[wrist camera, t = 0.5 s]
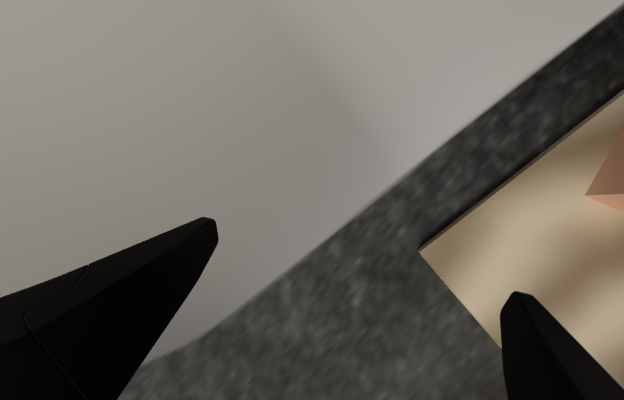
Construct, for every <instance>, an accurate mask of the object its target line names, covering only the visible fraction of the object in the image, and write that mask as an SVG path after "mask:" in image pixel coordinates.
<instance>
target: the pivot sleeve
mask: <svg viewBox="0 0 624 400" xmlns="http://www.w3.org/2000/svg"><path fill="white" fill-rule="evenodd" d="M585 196H587V197H589V198H591V199H594V200H596V201H598V202H600V203H603V204H605V205H607V206H609V207H612V208H614V209H616V210H618V211H621V212H623V213H624V127H623V129H622V131H621V133H620V134H619V136H618V138H617V140H616V141H615V143H614V145H613V147H612V148H611V150H610V152H609V154H608V155H607V157H606V159H605V161H604V162H603V164H602V166H601V168H600V169H599V171H598V173H597V175H596V176H595V178H594V180H593V182H592V183H591V185H590V187H589V189H588V190H587V192H586V194H585Z"/></svg>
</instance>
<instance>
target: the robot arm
mask: <svg viewBox="0 0 624 400" xmlns="http://www.w3.org/2000/svg"><path fill="white" fill-rule="evenodd" d="M217 244H218V232H217V226H216V222H215V220H213V219H211V218H206V217H201V218H199V219H196V220H194V221H191V222H189V223H187V224H184V225H182V226H179V227H177V228H174V229H172V230H170V231H167V232H165V233H162V234H160V235H158V236H155V237H153V238H150V239H148V240H146V241H143V242H141V243H138V244H136V245H134V246H131V247H129V248H126V249H124V250H122V251H119V252H117V253H115V254H112V255H109V256H107V257H105V258H102V259H100V260H97V261H95V262H93V263H90V264H89V265H85V266H83V267H80V268H78V269H76V270H73V271H71V272H68V273H66V274H63V275H61V276H58V277H56V278H53V279H51V280H48V281H45V282H43V283H40V284H37V285H34V286H32V287H29V288H26V289H23V290H20V291H18V292H15V293H12V294H9V295H6V296H4V297H1V298H0V400H117V399H118V397H119V396H120V394H121V393H122V391H123V390H124V388H125V387H126V386H127V384H128V383H129V381H130V380H131V378H132V377H133V375H134V374H135V372H136V371H137V369H138V368H139V366H140V365H141V364H142V362H143V361H144V359H145V358H146V356H147V355H148V353H149V352H150V350H151V349H152V347H153V346H154V345H155V343H156V342H157V340H158V338H159V337H160V336H161V334H162V333H163V331H164V330H165V328H166V327H167V325H168V324H169V322H170V321H171V319H172V318H173V317H174V315H175V314H176V312H177V311H178V309H179V308H180V306H181V305H182V304H183V302H184V301H185V299H186V298H187V296H188V295H189V293H190V292H191V290H192V289H193V287H194V286H195V284H196V282H197V281H198V279H199V278H200V276H201V274H202V272H203V270H204V268H205V266H206V265H207V263H208V261H209V259H210V257H211V255H212V253H213V251H214V250H215V248H216V246H217ZM500 329H501V344H502V359H503V371H504V378H505V384H506V389H507V395H508V400H624V389H623V388H622V387H621V386H620V384H619V383H618V382H617V381H616V380H615V379H614V378H613V377H612V376H611V375H610V374H609V373H608V372H607V371H606V370H605V369H604V368H603V367H602V366H601V365H600V364H599V363H598V362H597V361H596V360H595V359H594V358H593V357H592V356H591V355H590V354H589V353H588V352H587V350H586V349H585V348H584V347H583V346H582V345H581V344H580V343H579V342H578V341H577V340H576V339H575V338H574V337H573V336H572V335H571V334H570V333H569V332H568V331H567V330H566V329H565V328H564V327H563V326H562V325H561V324H560V323H559V322H558V321H557V320H556V319H555V317H554V316H553V315H552V314H551V313H550V312H549V311H548V310H547V309H546V308H545V307H544V306H543V305H542V304H541V303H540V302H539V301H538V300H537V299H536V298H535V297H534V296H533V295H531V294H528V293H524V292H519V291H514V292H512V293H511V295H510V296H509V298H508V299H507V301H506V303H505V304H504V306H503V307H502V309H501V312H500Z"/></svg>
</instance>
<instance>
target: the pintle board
mask: <svg viewBox="0 0 624 400" xmlns="http://www.w3.org/2000/svg"><path fill="white" fill-rule="evenodd" d="M623 127H624V89H623V90H622V91H621V92H619V93H618V94H617V95H616V96H614V97H613V98H612V99H610V100H609V101H608V102H607V103H605V104H604V105H603V106H601V107H600V108H599V109H598V110H596V111H595V112H594V113H592V114H591V115H590V116H589V117H587V118H586V119H585V120H583V121H582V122H581V123H580V124H578V125H577V126H576V127H574V128H573V129H572V130H571V131H569V132H568V133H567V134H565V135H564V136H563V137H562V138H560V139H559V140H558V141H556V142H555V143H554V144H553V145H551V146H550V147H549V148H547V149H546V150H545V151H544V152H542V153H541V154H540V155H538V156H537V157H536V158H535V159H533V160H532V161H531V162H529V163H528V164H527V165H526V166H524V167H523V168H522V169H520V170H519V171H518V172H517V173H515V174H514V175H513V176H511V177H510V178H509V179H508V180H506V181H505V182H504V183H502V184H501V185H500V186H499V187H497V188H496V189H495V190H493V191H492V192H491V193H490V194H488V195H487V196H486V197H484V198H483V199H482V200H481V201H479V202H478V203H477V204H475V205H474V206H473V207H472V208H470V209H469V210H468V211H466V212H465V213H464V214H463V215H461V216H460V217H459V218H457V219H456V220H455V221H454V222H452V223H451V224H450V225H448V226H447V227H446V228H444V229H443V230H442V231H441V232H439V233H438V234H437V235H435V236H434V237H433V238H432V239H430V240H429V241H428V242H426V243H425V244H424V245H423V246H421V247H420V248H419V249H417V251H418V252H419V253H420V254H421V256H422V257H423V258H424V259H425V260H426V262H427V263H428V264H429V265H430V266H431V267H432V269H433V270H434V271H435V272H436V273H437V274H438V276H439V277H440V278H441V279H442V280H443V281H444V283H445V284H446V285H447V286H448V287H449V288H450V290H451V291H452V292H453V293H454V294H455V295H456V297H457V298H458V299H459V300H460V301H461V303H462V304H463V305H464V306H465V307H466V308H467V310H468V311H469V312H470V313H471V314H472V315H473V317H474V318H475V319H476V320H477V321H478V322H479V324H480V325H481V326H482V327H483V328H484V329H485V331H486V332H487V333H488V334H489V335H490V336H491V338H492V339H493V340H494V341H495V342H496V344H497V345H498V346H499V347H500V348H501V349H502V344H501V329H500V312H501V309H502V307H503V306H504V304H505V303H506V301H507V299H508V298H509V296H510V295H511V293H512V292H514V291H519V292H524V293H528V294H531V295H533V296H534V297H535V298H536V299H537V300H538V301H539V302H540V303H541V304H542V305H543V306H544V307H545V308H546V309H547V310H548V311H549V312H550V313H551V314H552V315H553V316H554V317H555V319H556V320H557V321H558V322H559V323H560V324H561V325H562V326H563V327H564V328H565V329H566V330H567V331H568V332H569V333H570V334H571V335H572V336H573V337H574V338H575V339H576V340H577V341H578V342H579V343H580V344H581V345H582V346H583V347H584V348H585V349H586V350H587V352H588V353H589V354H590V355H591V356H592V357H593V358H594V359H595V360H596V361H597V362H598V363H599V364H600V365H601V366H602V367H603V368H604V369H605V370H606V371H607V372H608V373H609V374H610V375H611V376H612V377H613V378H614V379H615V380H616V381H617V382H618V383H619V384H620V386H621V387H622V388H623V389H624V213H623V212H621V211H618V210H616V209H614V208H612V207H609V206H607V205H605V204H603V203H600V202H598V201H596V200H594V199H591V198H589V197H587V196H585V194H586V192H587V190H588V189H589V187H590V185H591V183H592V182H593V180H594V178H595V176H596V175H597V173H598V171H599V169H600V168H601V166H602V164H603V162H604V161H605V159H606V157H607V155H608V154H609V152H610V150H611V148H612V147H613V145H614V143H615V141H616V140H617V138H618V136H619V134H620V133H621V131H622V129H623Z"/></svg>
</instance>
